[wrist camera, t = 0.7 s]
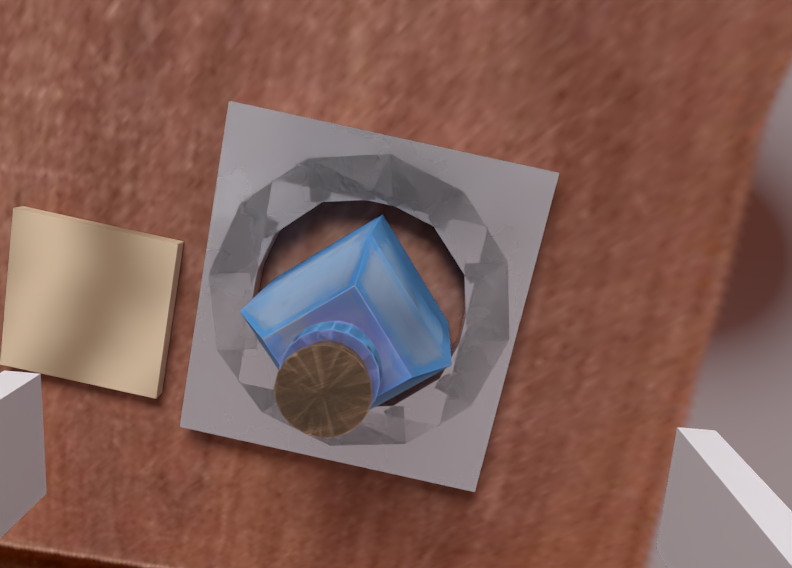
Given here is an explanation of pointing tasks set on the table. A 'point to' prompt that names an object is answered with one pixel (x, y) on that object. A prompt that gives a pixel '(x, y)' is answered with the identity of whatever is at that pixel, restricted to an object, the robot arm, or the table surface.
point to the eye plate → (388, 184)
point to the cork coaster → (89, 301)
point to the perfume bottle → (348, 331)
